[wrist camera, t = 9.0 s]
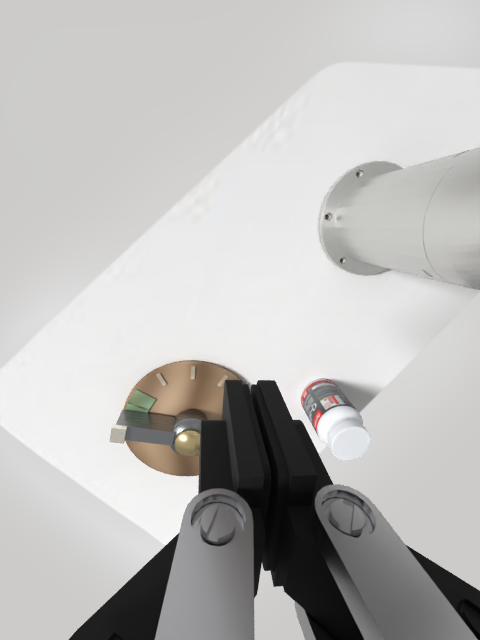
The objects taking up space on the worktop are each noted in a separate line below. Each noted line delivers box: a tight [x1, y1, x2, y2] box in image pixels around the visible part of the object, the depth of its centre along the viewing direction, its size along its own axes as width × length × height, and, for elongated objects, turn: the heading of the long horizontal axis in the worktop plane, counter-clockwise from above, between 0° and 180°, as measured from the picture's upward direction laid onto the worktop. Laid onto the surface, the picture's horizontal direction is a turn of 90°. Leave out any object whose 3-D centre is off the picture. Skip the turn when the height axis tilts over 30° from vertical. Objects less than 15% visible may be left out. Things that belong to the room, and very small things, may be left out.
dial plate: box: [123, 360, 244, 476], centre depth 40 cm, size 18×18×1 cm
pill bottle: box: [301, 379, 371, 461], centre depth 38 cm, size 6×6×10 cm
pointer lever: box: [110, 409, 208, 457], centre depth 37 cm, size 12×5×4 cm, turn 76°
